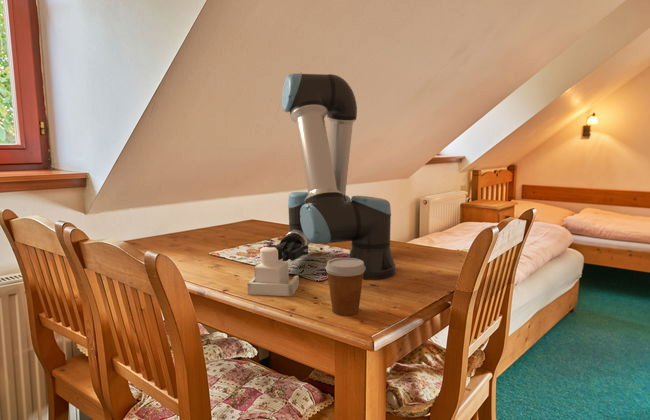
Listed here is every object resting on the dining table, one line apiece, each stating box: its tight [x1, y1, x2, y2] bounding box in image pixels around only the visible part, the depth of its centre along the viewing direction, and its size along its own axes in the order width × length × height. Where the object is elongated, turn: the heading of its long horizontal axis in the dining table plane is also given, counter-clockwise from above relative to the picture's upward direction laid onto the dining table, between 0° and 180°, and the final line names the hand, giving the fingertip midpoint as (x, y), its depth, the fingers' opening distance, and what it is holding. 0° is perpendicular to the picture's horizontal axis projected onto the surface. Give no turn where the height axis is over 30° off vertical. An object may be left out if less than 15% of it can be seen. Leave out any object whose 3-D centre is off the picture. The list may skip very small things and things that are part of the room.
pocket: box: [246, 275, 300, 297], centre depth 132 cm, size 12×8×3 cm
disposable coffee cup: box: [324, 257, 366, 316], centre depth 115 cm, size 10×10×12 cm
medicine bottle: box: [254, 244, 290, 284], centre depth 132 cm, size 7×7×12 cm
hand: (274, 262), depth 136 cm, fingers closed
